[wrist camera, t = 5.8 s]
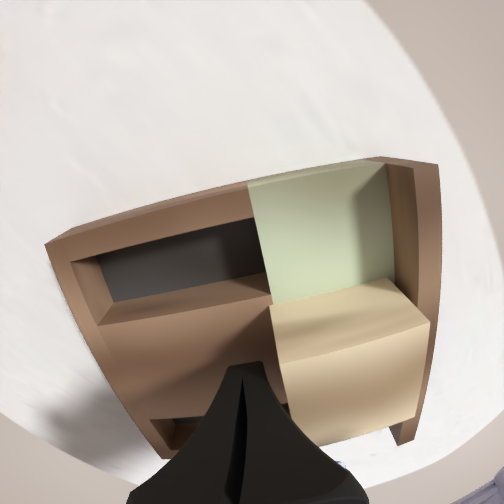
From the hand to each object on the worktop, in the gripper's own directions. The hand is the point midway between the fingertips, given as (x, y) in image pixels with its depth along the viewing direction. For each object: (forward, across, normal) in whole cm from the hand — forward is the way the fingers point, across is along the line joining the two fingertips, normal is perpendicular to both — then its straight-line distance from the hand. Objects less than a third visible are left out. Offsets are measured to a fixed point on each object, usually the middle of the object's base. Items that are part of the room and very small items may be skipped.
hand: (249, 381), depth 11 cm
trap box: (+4, 0, 0) cm, 4 cm away
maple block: (+1, -4, 0) cm, 4 cm away
